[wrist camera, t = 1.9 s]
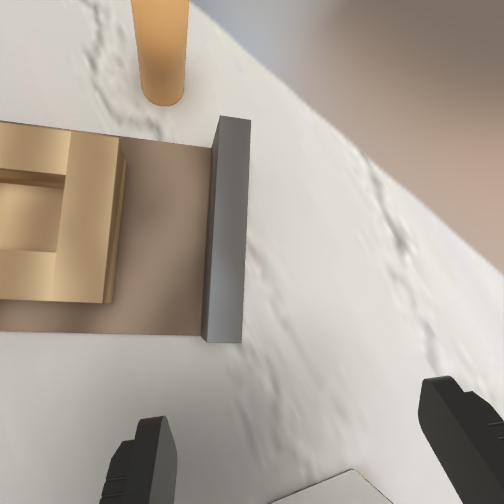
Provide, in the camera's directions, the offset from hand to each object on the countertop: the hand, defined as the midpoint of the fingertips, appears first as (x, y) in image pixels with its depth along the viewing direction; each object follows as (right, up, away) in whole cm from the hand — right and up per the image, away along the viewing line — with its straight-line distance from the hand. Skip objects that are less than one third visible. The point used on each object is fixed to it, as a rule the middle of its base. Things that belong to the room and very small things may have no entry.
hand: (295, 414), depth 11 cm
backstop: (-12, +6, +15) cm, 20 cm away
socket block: (-15, +7, +13) cm, 21 cm away
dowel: (-8, +18, +17) cm, 27 cm away
